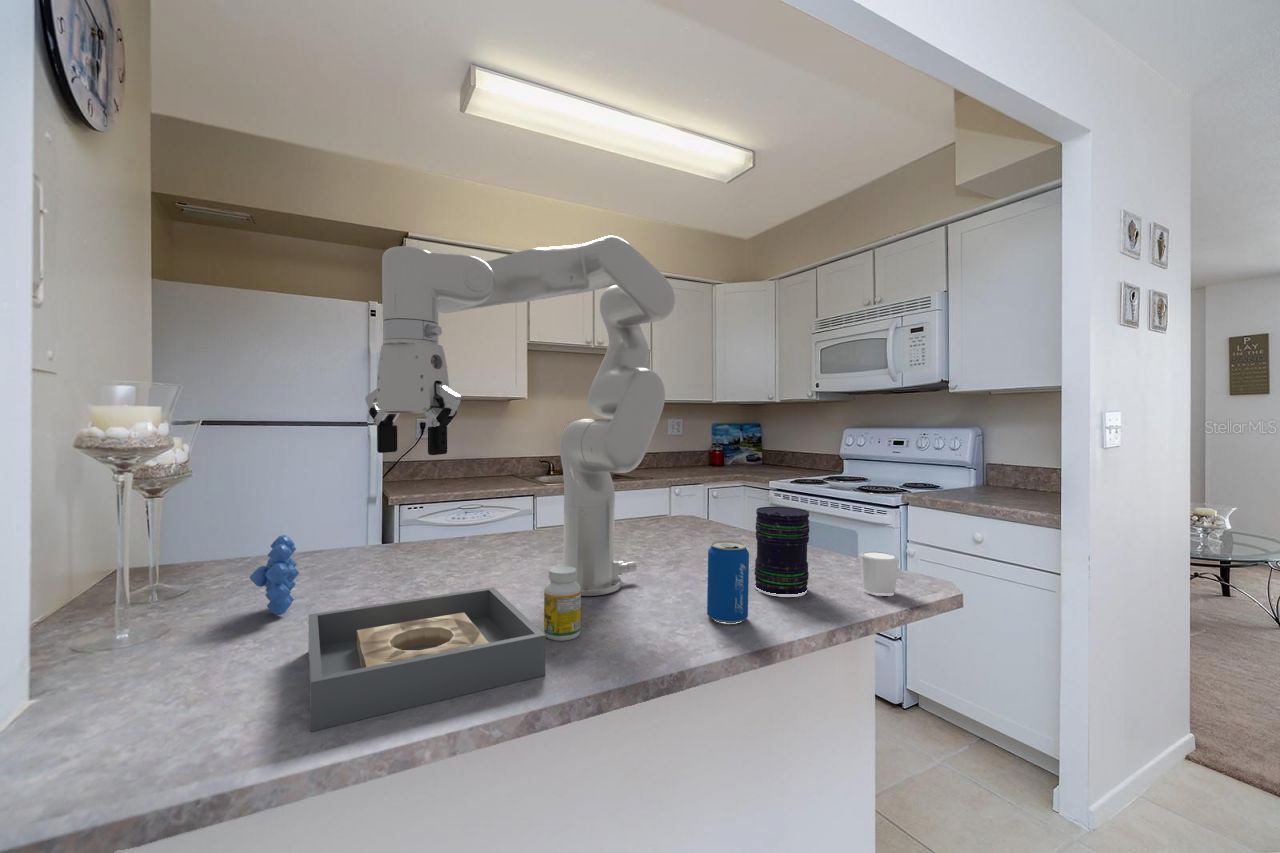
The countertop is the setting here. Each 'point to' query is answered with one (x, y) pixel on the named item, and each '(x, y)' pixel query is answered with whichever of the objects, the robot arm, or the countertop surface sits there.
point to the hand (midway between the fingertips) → (412, 453)
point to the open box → (420, 680)
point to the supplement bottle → (562, 604)
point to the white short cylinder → (878, 571)
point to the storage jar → (782, 550)
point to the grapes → (278, 575)
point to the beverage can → (728, 581)
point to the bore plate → (416, 639)
